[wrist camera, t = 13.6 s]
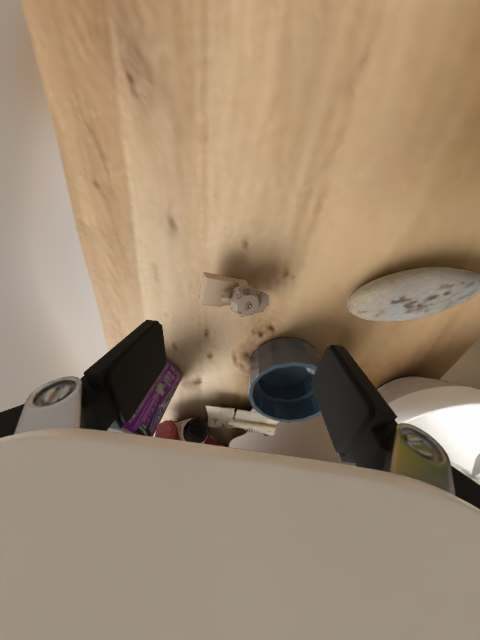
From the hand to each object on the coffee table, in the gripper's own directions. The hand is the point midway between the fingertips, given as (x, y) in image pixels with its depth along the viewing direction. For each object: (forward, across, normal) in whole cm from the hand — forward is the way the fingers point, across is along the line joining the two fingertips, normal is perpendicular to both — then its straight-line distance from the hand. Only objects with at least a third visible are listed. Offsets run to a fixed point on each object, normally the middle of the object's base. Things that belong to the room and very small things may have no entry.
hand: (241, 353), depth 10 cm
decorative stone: (+15, -20, -2) cm, 25 cm away
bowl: (+14, -30, +17) cm, 37 cm away
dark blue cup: (+14, -8, +13) cm, 21 cm away
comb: (+12, -2, +22) cm, 25 cm away
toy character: (+15, +2, +1) cm, 15 cm away
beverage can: (+14, +13, +18) cm, 27 cm away
